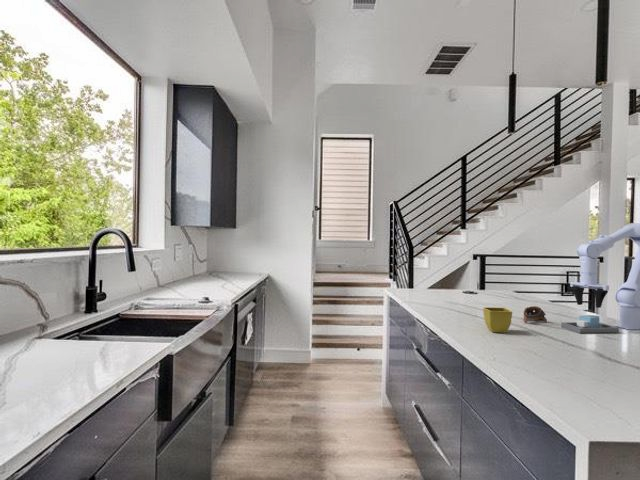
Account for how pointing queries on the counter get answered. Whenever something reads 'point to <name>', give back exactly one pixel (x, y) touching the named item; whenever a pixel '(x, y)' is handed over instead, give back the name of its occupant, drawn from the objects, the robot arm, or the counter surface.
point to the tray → (602, 328)
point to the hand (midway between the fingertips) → (589, 306)
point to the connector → (588, 321)
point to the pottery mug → (534, 314)
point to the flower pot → (497, 319)
